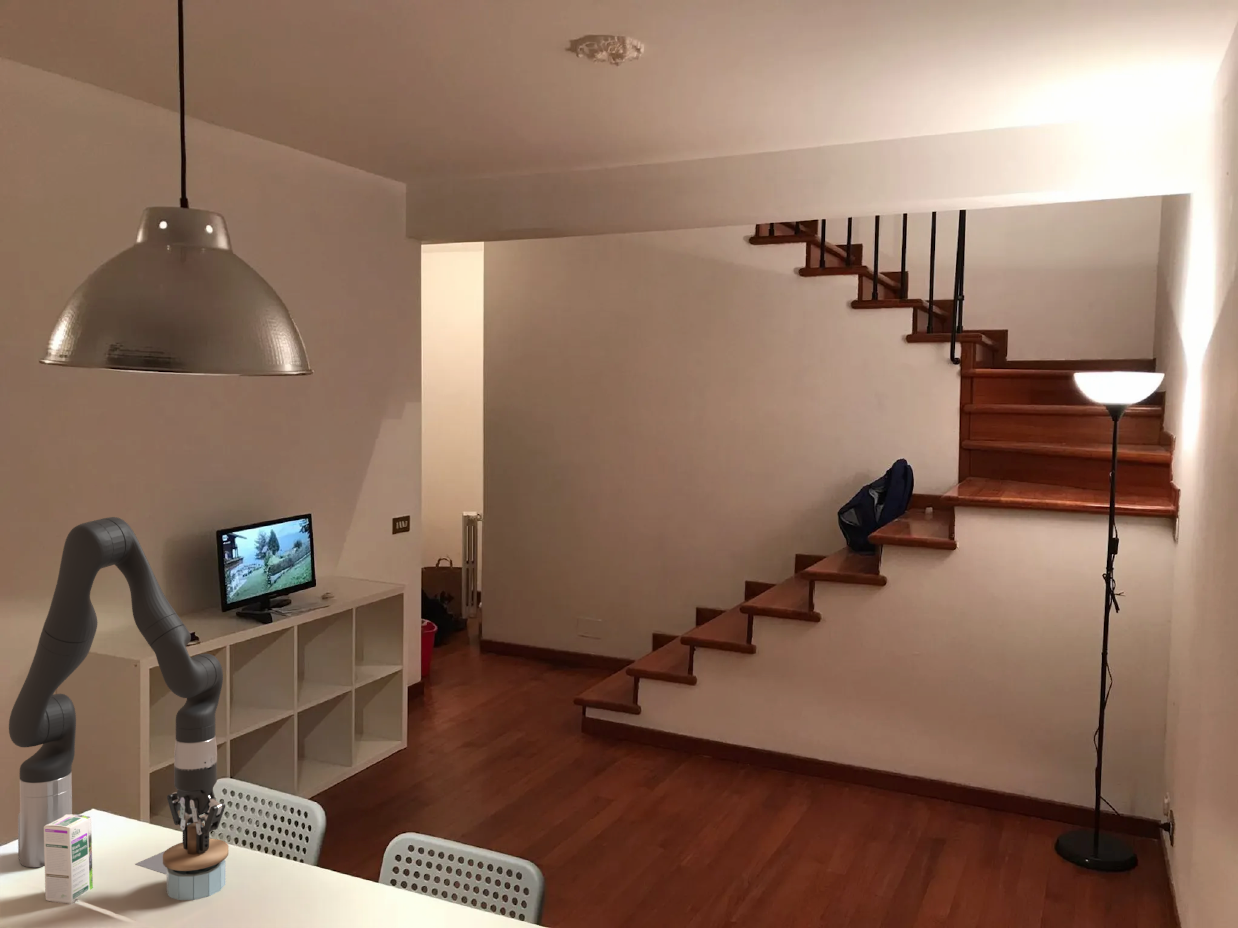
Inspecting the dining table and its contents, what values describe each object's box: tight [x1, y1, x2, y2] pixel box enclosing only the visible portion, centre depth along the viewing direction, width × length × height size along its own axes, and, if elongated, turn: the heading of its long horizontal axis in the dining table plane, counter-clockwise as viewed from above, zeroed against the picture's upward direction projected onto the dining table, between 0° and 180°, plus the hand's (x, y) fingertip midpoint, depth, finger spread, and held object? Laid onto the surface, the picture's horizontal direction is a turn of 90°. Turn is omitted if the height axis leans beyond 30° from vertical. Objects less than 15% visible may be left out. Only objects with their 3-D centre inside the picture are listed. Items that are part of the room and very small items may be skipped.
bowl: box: [166, 859, 226, 901], centre depth 192 cm, size 10×10×5 cm
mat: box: [134, 850, 167, 875], centre depth 204 cm, size 12×12×1 cm
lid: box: [163, 822, 229, 871], centre depth 192 cm, size 12×12×7 cm
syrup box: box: [44, 814, 94, 905], centre depth 189 cm, size 6×6×14 cm
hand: (195, 849), depth 192 cm, fingers closed on lid, 3 cm apart
